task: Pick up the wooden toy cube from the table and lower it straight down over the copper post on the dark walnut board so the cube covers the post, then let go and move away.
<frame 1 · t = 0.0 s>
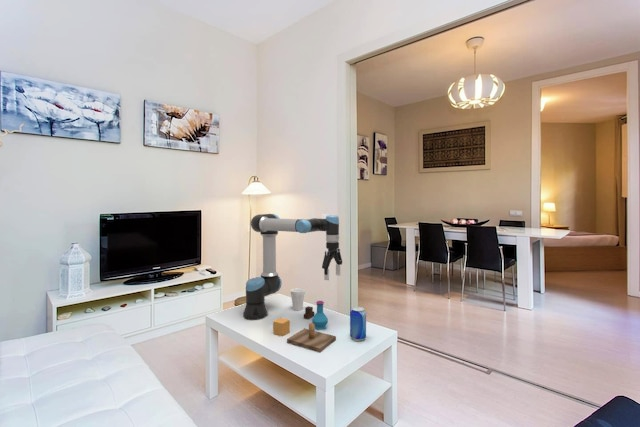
hand: (332, 277, 183), 28 cm above the table, tool pointing down, fingers open, 13 cm apart
stack of crates: (311, 318, 195), on the table
foam cup: (297, 309, 210), on the table
wooden toy cube: (281, 333, 172), on the table
post board: (311, 341, 161), on the table
perfume bottle: (320, 327, 180), on the table
beer can: (358, 338, 165), on the table
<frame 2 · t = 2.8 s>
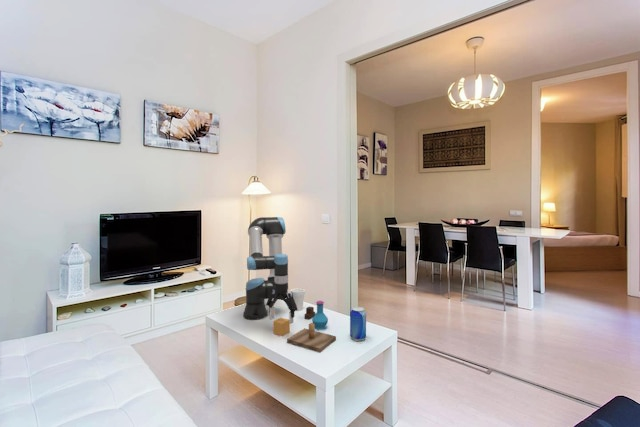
hand: (281, 320, 171), 7 cm above the table, tool pointing down, fingers open, 13 cm apart
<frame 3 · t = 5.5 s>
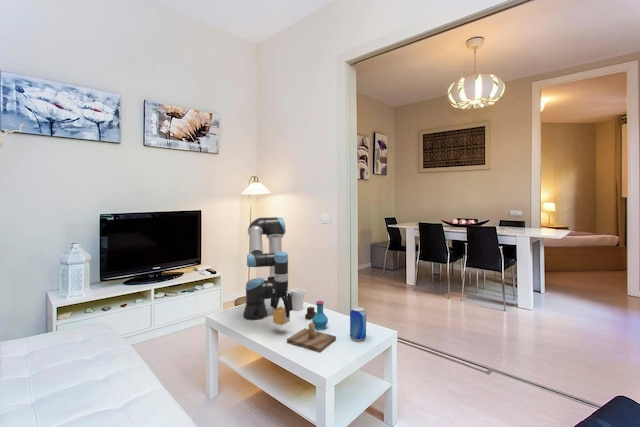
hand: (281, 321, 172), 6 cm above the table, tool pointing down, fingers closed on wooden toy cube, 6 cm apart
wooden toy cube: (281, 321, 172), point 6 cm above the table, touching gripper
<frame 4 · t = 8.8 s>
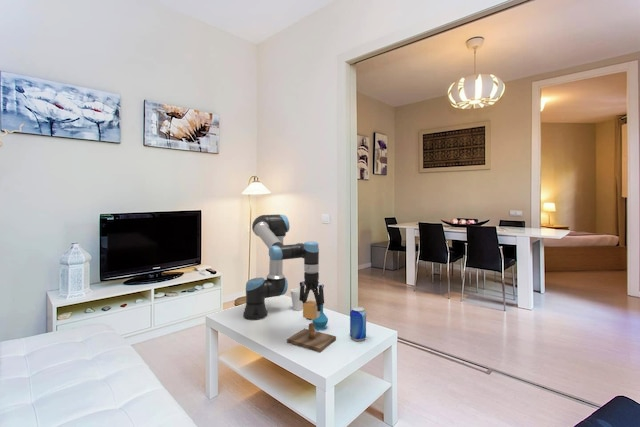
hand: (311, 315, 161), 13 cm above the table, tool pointing down, fingers closed on wooden toy cube, 6 cm apart
wooden toy cube: (311, 316, 161), point 13 cm above the table, touching gripper
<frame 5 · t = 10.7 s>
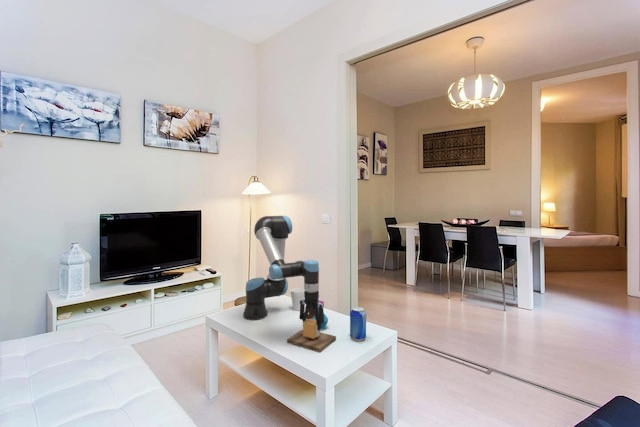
hand: (311, 334, 161), 4 cm above the table, tool pointing down, fingers closed on wooden toy cube, 6 cm apart
wooden toy cube: (311, 334, 161), point 3 cm above the table, touching gripper
when the fingers open (3 cm above the table, at t = 12.1 s): wooden toy cube stays where it is, resting on post board.
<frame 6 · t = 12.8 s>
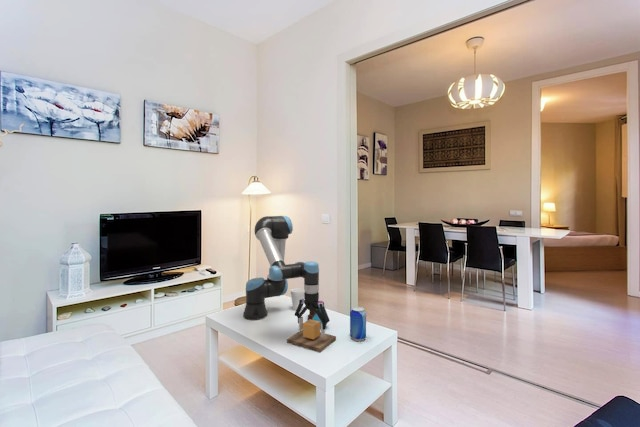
hand: (311, 332, 161), 5 cm above the table, tool pointing down, fingers open, 13 cm apart
wooden toy cube: (311, 335, 161), point 3 cm above the table, touching post board
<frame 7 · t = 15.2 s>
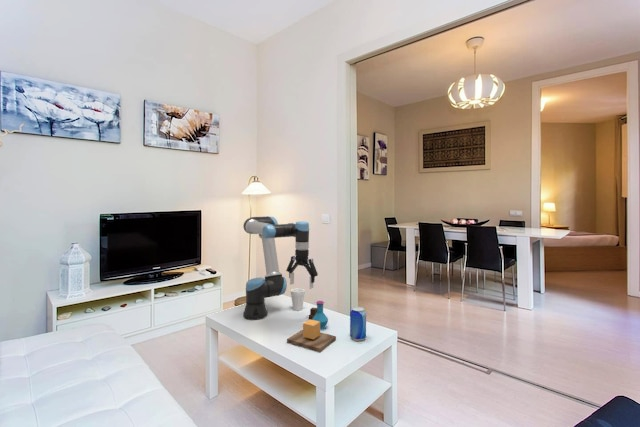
hand: (301, 286, 176), 25 cm above the table, tool pointing down, fingers open, 13 cm apart
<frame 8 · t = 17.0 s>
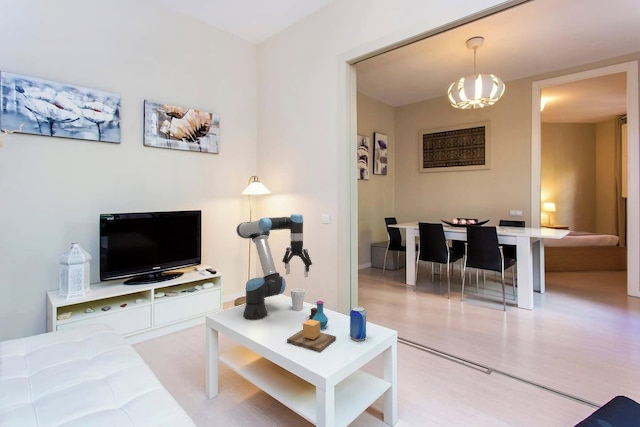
hand: (296, 275, 185), 29 cm above the table, tool pointing down, fingers open, 13 cm apart
at the end: wooden toy cube 0.0 cm off-centre on the post board, point 3.0 cm above the post board's base; wooden toy cube tilted 0°; the gripper is holding nothing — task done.
